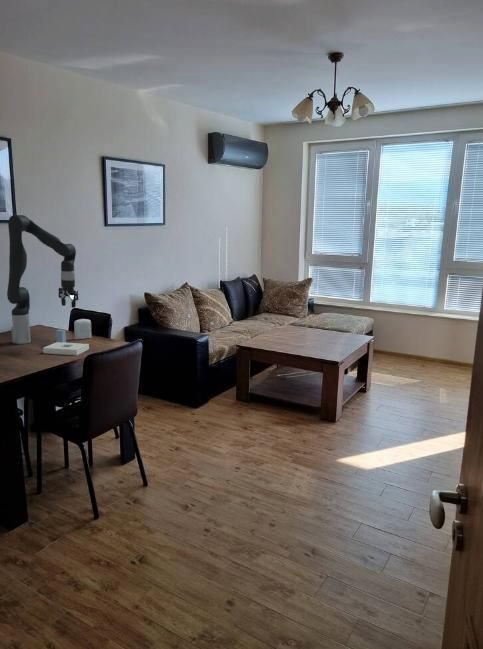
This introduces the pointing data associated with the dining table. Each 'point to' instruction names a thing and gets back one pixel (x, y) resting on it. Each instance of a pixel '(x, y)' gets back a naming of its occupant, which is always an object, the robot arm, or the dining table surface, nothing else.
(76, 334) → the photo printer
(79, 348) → the socket
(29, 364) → the dining table surface
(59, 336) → the peg
